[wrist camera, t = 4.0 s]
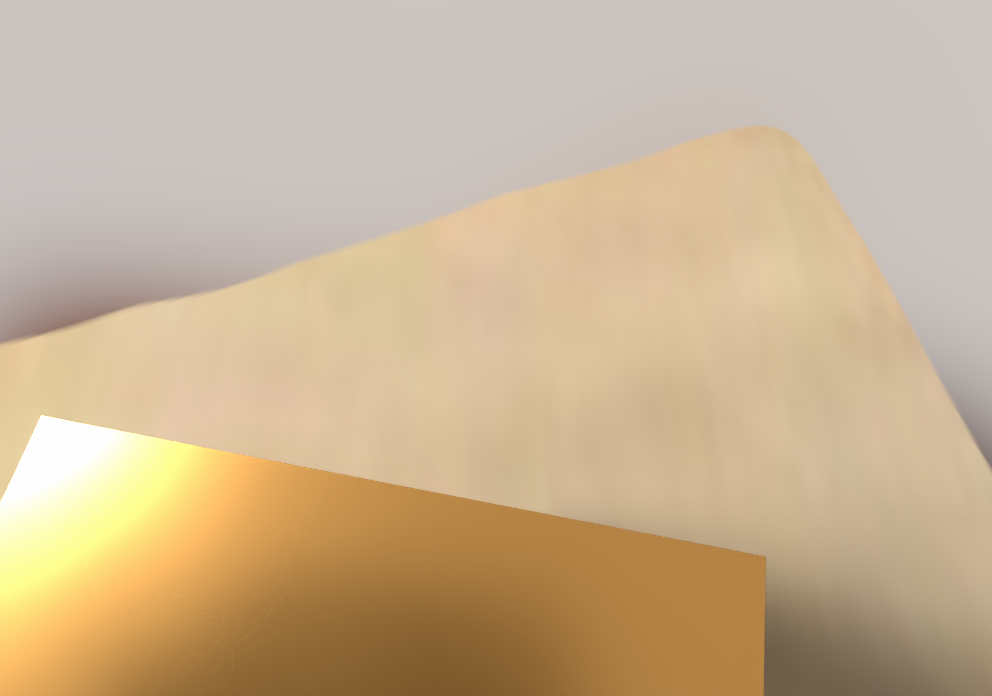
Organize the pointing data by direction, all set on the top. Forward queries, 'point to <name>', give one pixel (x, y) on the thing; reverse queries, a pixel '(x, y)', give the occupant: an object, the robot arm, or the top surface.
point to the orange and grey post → (342, 586)
